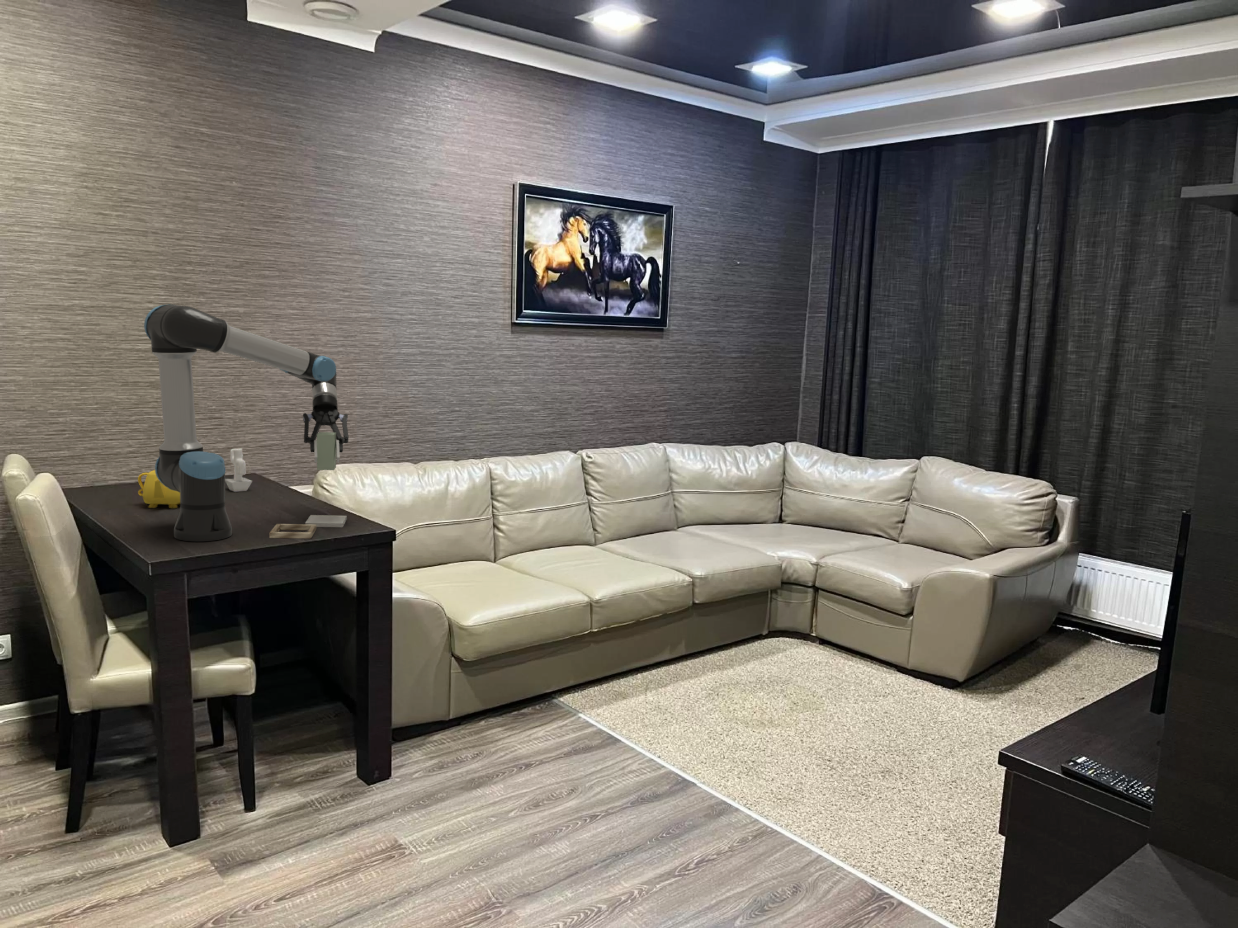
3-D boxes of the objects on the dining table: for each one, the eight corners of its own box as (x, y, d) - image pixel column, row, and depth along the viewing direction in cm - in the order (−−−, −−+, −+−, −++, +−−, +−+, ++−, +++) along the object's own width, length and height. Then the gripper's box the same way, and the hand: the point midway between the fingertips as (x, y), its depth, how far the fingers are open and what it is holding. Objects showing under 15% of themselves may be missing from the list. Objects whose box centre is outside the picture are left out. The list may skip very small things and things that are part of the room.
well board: (269, 537, 262) (269, 532, 262) (276, 528, 273) (276, 523, 273) (310, 538, 264) (310, 533, 264) (316, 529, 275) (316, 524, 275)
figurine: (233, 493, 319) (232, 451, 317) (222, 488, 326) (222, 447, 324) (253, 491, 324) (253, 450, 322) (243, 487, 331) (243, 446, 329)
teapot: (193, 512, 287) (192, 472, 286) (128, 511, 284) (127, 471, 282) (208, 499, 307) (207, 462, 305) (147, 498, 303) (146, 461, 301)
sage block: (316, 469, 278) (316, 434, 276) (319, 467, 283) (319, 432, 281) (333, 470, 279) (334, 434, 277) (336, 467, 284) (336, 432, 282)
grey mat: (305, 526, 278) (305, 522, 277) (310, 518, 288) (310, 515, 288) (342, 527, 280) (342, 523, 280) (346, 519, 290) (346, 515, 290)
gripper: (354, 408, 296) (358, 466, 283) (293, 407, 289) (294, 467, 277) (356, 393, 290) (359, 452, 277) (293, 392, 283) (294, 452, 271)
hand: (327, 459), depth 277 cm, fingers closed on sage block, 6 cm apart
